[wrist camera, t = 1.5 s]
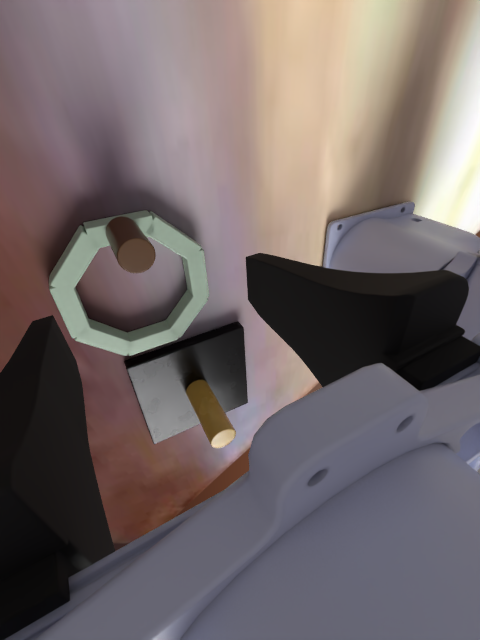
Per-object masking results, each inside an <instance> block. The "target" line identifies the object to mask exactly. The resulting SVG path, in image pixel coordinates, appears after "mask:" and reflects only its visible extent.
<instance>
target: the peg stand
mask: <svg viewBox="0 0 480 640" xmlns="http://www.w3.org/2000/svg"><path fill="white" fill-rule="evenodd" d="M124 363H125V366H126V369H127V372H128V375H129V377H130V380H131V383H132V386H133V388H134V391H135V394H136V397H137V399H138V402H139V405H140V408H141V410H142V413H143V416H144V419H145V421H146V424H147V427H148V430H149V432H150V435H151V438H152V441H153V443H154V444H156V443H158V442H161V441H163V440H165V439H167V438H170V437H172V436H174V435H176V434H179V433H181V432H183V431H185V430H188V429H190V428H192V427H194V426H196V425H199V424H201V425H202V427H203V429H204V431H205V434H206V436H207V438H208V440H209V442H210V444H211V446H212V447H214V448H222V447H224V446H226V445H228V444H229V443H230V442H231V441H232V440H233V439H234V438H235V435H236V432H235V430H234V428H233V426H232V424H231V423H230V421H229V419H228V417H227V416H226V414H225V413H226V412H228V411H230V410H232V409H235V408H237V407H239V406H241V405H244V404H246V403H248V399H247V381H246V364H245V346H244V329H243V326H242V325H241V324H240V323H239V322H235V323H232V324H229V325H226V326H223V327H221V328H218V329H215V330H212V331H209V332H206V333H203V334H200V335H197V336H195V337H192V338H189V339H186V340H183V341H180V342H177V343H174V344H171V345H169V346H166V347H163V348H160V349H157V350H154V351H151V352H148V353H145V354H143V355H140V356H137V357H134V358H131V359H128V360H125V361H124Z"/></svg>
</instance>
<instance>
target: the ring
mask: <svg viewBox="0 0 480 640" xmlns="http://www.w3.org/2000/svg"><path fill="white" fill-rule="evenodd" d="M83 224H84V227H83V226H81V225H80V226H79V227H78V229H77V231H76V232H75V234H74V236H73V237H72V239H71V241H70V242H69V244H68V246H67V247H66V249H65V251H64V252H63V254H62V256H61V257H60V259H59V261H58V262H57V264H56V266H55V267H54V269H53V271H52V272H51V274H50V276H49V290H50V292H51V294H52V296H53V299H54V301H55V303H56V305H57V307H58V309H59V311H60V314H61V316H62V318H63V320H64V322H65V324H66V326H67V329H68V331H69V333H70V335H71V337H72V338H75V341H78V342H82V343H85V344H88V345H91V346H95V347H98V348H101V349H104V350H108V351H111V352H114V353H117V354H120V355H124V356H127V354H129V356H131V355H134V354H137V353H140V352H143V351H146V350H148V349H151V348H154V347H157V346H160V345H163V344H166V343H169V342H172V341H175V340H177V339H178V337H181V336H182V335H183V334H184V332H185V331H186V329H187V328H188V327H189V325H190V324H191V323H192V321H193V320H194V318H195V317H196V316H197V314H198V313H199V311H200V310H201V309H202V307H203V306H204V305H205V303H206V302H207V300H208V298H207V297H209V290H208V282H207V274H206V266H205V258H204V250H203V249H202V248H201V246H200V245H199V244H198V243H197V242H196V241H195V240H193V239H192V238H190V237H189V236H187V235H186V234H184V233H183V232H181V231H180V230H178V229H177V228H175V227H174V226H172V225H171V224H169V223H168V222H167V221H165V220H164V219H162V218H161V217H159V216H158V215H156V214H155V213H153V212H152V211H150V212H148V211H147V210H144V211H139V212H133V213H128V214H123V215H118V216H113V217H108V218H103V219H98V220H93V221H88V222H84V223H83ZM147 237H151V238H153V239H154V240H156V241H157V242H159V243H161V244H162V245H164V246H166V247H167V248H169V249H171V250H172V251H174V252H176V253H177V254H179V255H180V256H182V261H183V266H184V272H185V278H186V284H187V291H186V292H185V294H184V295H183V296H182V298H181V299H180V301H179V302H178V304H177V305H176V306H175V308H174V309H173V311H172V312H171V314H170V315H169V316H168V318H167V319H166V320H165V321H162V322H159V323H156V324H153V325H149V326H146V327H143V328H140V329H137V330H134V331H131V332H128V333H127V332H124V331H121V330H119V329H116V328H113V327H110V326H108V325H105V324H102V323H99V322H97V321H94V320H91V319H88V317H87V314H86V312H85V309H84V307H83V304H82V302H81V299H80V297H79V294H78V292H77V290H76V287H75V286H76V285H77V283H78V282H79V280H80V278H81V277H82V275H83V274H84V272H85V270H86V269H87V267H88V265H89V264H90V262H91V261H92V259H93V257H94V256H95V254H96V253H97V251H98V249H99V248H102V247H106V246H111V248H112V250H113V252H114V254H115V256H116V258H117V261H118V263H119V265H120V266H121V267H122V268H123V269H124V270H126V271H128V272H130V273H142V272H144V271H146V270H148V269H149V268H150V267H151V266H152V265H153V263H154V261H155V249H154V247H153V246H152V244H151V243H150V241H149V240H148V239H147Z"/></svg>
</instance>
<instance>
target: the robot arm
mask: <svg viewBox="0 0 480 640" xmlns="http://www.w3.org/2000/svg"><path fill="white" fill-rule="evenodd" d="M414 207H415V204H414V202H411V201H408V202H405V203H401V204H397V205H393V206H389V207H385V208H381V209H378V210H374V211H370V212H366V213H362V214H358V215H354V216H351V217H347V218H343V219H339V220H335V221H332V222H330V223H329V225H328V227H327V234H326V243H325V252H324V261H323V267H320V266H314V265H310V264H306V263H301V262H297V261H293V260H289V259H285V258H281V257H277V256H273V255H268V254H263V253H258V254H254V255H251V256H248V257H246V270H247V288H248V300H249V302H250V303H251V304H252V306H253V307H254V309H255V310H256V311H257V313H258V314H259V315H260V317H261V318H262V319H263V320H264V321H265V322H266V323H267V324H268V325H269V326H270V327H271V328H272V329H273V330H274V331H275V332H276V333H277V334H278V335H279V336H280V337H281V338H282V339H283V340H284V341H285V342H286V343H287V344H288V345H289V346H290V347H291V348H292V349H293V350H294V351H295V352H296V353H297V354H298V356H299V357H300V358H301V359H302V360H303V362H304V363H305V364H306V365H307V367H308V368H309V369H310V371H311V372H312V373H313V374H314V376H315V377H316V379H317V380H318V381H319V383H320V384H321V385H322V387H323V388H321V389H319V390H317V391H315V392H313V393H311V394H309V395H307V396H305V397H303V398H301V399H299V400H297V401H295V402H293V403H291V404H289V405H287V406H285V407H283V408H282V409H281V410H279V411H278V412H276V413H275V414H273V415H272V416H271V417H269V418H268V419H267V420H266V421H265V422H264V424H263V425H262V426H261V427H260V428H259V430H258V431H257V432H256V433H255V435H254V437H253V441H252V444H251V448H250V452H249V455H248V456H249V467H250V470H249V471H248V472H247V473H245V474H244V475H243V476H241V477H240V478H239V479H238V480H236V481H235V482H234V483H233V484H231V485H230V486H229V487H227V488H226V489H225V490H223V491H222V492H220V493H218V494H216V495H214V496H213V497H211V498H209V499H207V500H206V501H204V502H202V503H200V504H199V505H197V506H195V507H193V508H191V509H190V510H188V511H186V512H184V513H183V514H181V515H179V516H177V517H175V518H174V519H172V520H170V521H168V522H167V523H165V524H163V525H161V526H159V527H158V528H156V529H154V530H152V531H151V532H149V533H147V534H145V535H143V536H142V537H140V538H138V539H136V540H135V541H133V542H131V543H129V544H128V545H126V546H124V547H122V548H121V549H119V550H117V551H115V549H114V545H113V542H112V538H111V534H110V531H109V527H108V523H107V519H106V515H105V512H104V508H103V504H102V500H101V496H100V492H99V488H98V484H97V480H96V475H95V471H94V467H93V462H92V458H91V454H90V449H89V443H88V435H87V425H86V416H85V406H84V397H83V388H82V382H81V378H80V374H79V370H78V366H77V363H76V360H75V358H74V356H73V354H72V352H71V350H70V348H69V346H68V344H67V342H66V340H65V338H64V336H63V334H62V332H61V330H60V328H59V326H58V324H57V322H56V320H55V318H54V317H53V315H52V316H49V317H45V318H42V319H39V320H35V321H32V323H31V325H30V326H29V328H28V330H27V331H26V333H25V335H24V337H23V338H22V340H21V342H20V344H19V345H18V347H17V349H16V350H15V352H14V354H13V355H12V357H11V358H10V360H9V362H8V363H7V364H6V366H5V367H4V369H3V370H2V372H1V373H0V640H480V474H479V473H478V472H477V470H479V469H480V238H479V237H478V236H476V235H474V234H472V233H470V232H467V231H464V230H461V229H458V228H455V227H452V226H449V225H446V224H443V223H440V222H437V221H434V220H431V219H428V218H425V217H422V216H419V215H416V214H413V211H414ZM338 225H339V227H338ZM337 227H338V228H337Z"/></svg>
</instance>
